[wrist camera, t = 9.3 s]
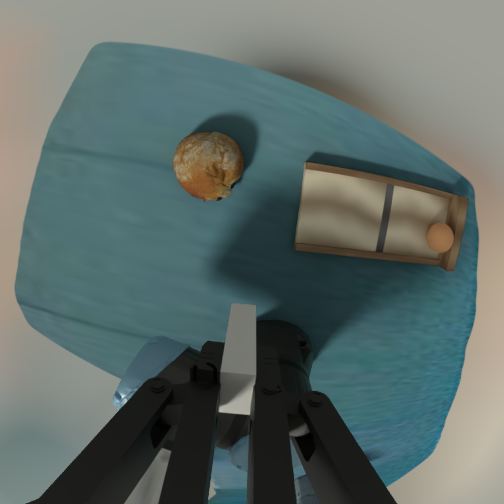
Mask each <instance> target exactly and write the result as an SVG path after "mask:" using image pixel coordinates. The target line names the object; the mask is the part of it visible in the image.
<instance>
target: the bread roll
mask: <svg viewBox="0 0 504 504" xmlns="http://www.w3.org/2000/svg"><path fill="white" fill-rule="evenodd" d="M173 166H174V170H175V174H176V176H177V180H178V182H179V183H180V185H181V186H182V187H183V188H184V189H185V190H186V191H187V192H188V193H190V195H191V196H194V197H196V198H199V199H201V198H202V199H204V201H205V202H207V201H209V200H216V201H219V200H221V199H222V198H226V197H228V196H230V195H231V193H232V191H231V190H230V189H232V188H233V187H234V182H235V181H237V180H238V179H239V178H240V177H241V174H242V171H243V166H244V159H243V155H242V153H241V150H240V148H239V146H238V144H237V143H236V142H235V141H234V140H233V139H231V138H230V137H229V136H226V135H225V134H222V133H219V132H216V131H214V132H212V133H209V132H207V133H206V132H205V133H193V134H190V135H188V136H187V137H185V138H184V139H183V140H182V141H181V142H180V144H179V145H178V147H177V149H176V151H175V154H174V158H173Z"/></svg>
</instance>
